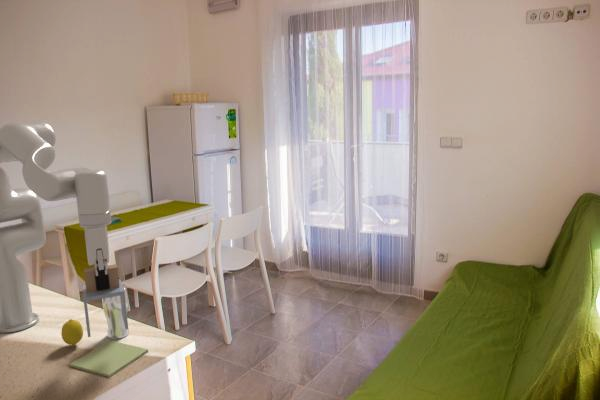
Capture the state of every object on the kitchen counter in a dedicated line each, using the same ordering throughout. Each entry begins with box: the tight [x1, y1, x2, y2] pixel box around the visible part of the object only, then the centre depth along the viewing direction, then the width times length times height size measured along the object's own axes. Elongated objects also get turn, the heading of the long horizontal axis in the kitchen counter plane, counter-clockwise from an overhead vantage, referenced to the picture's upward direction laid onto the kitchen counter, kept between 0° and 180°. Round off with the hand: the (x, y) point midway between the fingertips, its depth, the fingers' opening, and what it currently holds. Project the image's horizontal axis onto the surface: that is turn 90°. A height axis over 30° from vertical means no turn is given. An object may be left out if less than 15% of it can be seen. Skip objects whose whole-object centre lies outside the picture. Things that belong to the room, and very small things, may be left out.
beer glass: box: [101, 283, 130, 340], centre depth 143 cm, size 7×7×15 cm
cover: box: [82, 263, 129, 338], centre depth 128 cm, size 10×10×16 cm
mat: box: [69, 339, 149, 378], centre depth 131 cm, size 14×14×1 cm
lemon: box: [61, 318, 84, 346], centre depth 138 cm, size 6×6×8 cm
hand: (102, 286), depth 127 cm, fingers closed on cover, 3 cm apart
